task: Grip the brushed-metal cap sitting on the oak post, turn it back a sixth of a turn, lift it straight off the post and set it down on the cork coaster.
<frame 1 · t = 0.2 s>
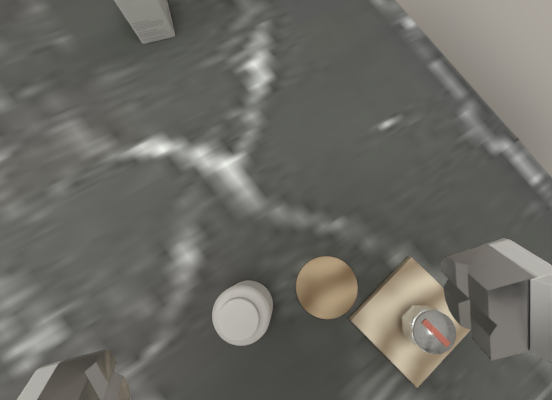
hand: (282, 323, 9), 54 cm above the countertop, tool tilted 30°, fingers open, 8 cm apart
cap: (421, 324, 56), point 5 cm above the countertop, touching post stand
post stand: (410, 318, 61), on the countertop
pill bottle: (249, 304, 62), on the countertop
skincare box: (156, 22, 69), on the countertop
coaster: (326, 287, 62), on the countertop
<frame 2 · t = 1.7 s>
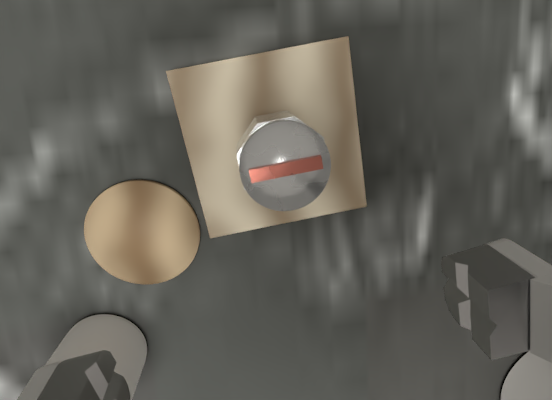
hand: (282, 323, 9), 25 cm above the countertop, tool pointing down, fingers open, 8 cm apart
cap: (277, 151, 28), point 5 cm above the countertop, touching post stand
post stand: (272, 140, 32), on the countertop
pill bottle: (108, 343, 38), on the countertop
coaster: (144, 232, 34), on the countertop
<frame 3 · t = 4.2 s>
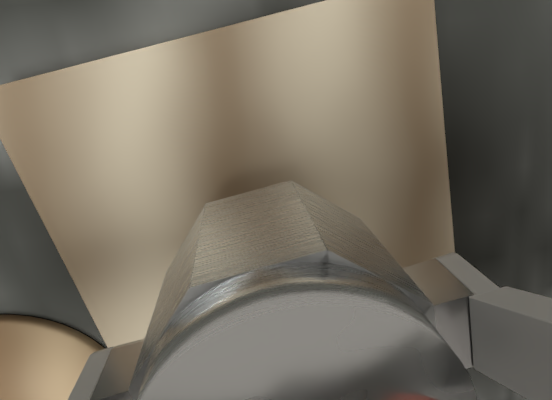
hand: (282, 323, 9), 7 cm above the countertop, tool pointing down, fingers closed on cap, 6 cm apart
cap: (274, 280, 11), point 5 cm above the countertop, touching gripper, post stand
post stand: (261, 215, 15), on the countertop
when the fingers open (4 cm above the countertop, at t = 11.4 s): cap drops 1 cm, resting on coaster.
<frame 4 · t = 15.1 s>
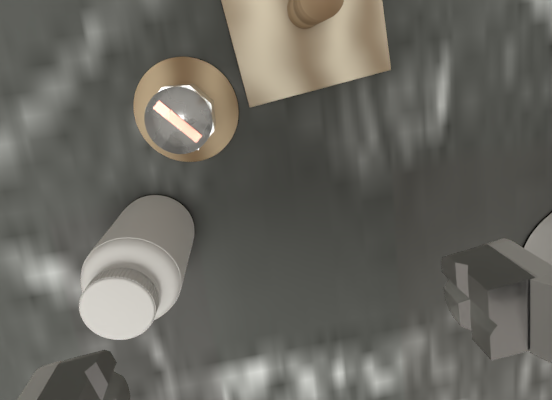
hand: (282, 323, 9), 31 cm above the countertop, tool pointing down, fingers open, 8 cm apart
cap: (185, 114, 36), point 1 cm above the countertop, touching coaster
post stand: (301, 12, 35), on the countertop
pill bottle: (158, 226, 41), on the countertop
coaster: (187, 111, 37), on the countertop
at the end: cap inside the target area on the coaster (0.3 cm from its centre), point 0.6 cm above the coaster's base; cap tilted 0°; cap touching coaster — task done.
